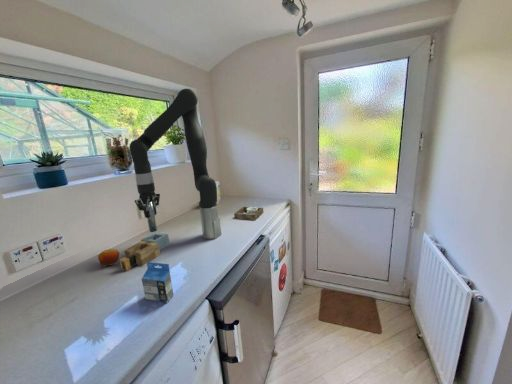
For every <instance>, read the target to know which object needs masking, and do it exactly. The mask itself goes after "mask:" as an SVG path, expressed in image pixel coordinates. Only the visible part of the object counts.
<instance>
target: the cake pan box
mask: <svg viewBox="0 0 512 384" xmlns="http://www.w3.org/2000/svg"><path fill="white" fill-rule="evenodd" d="M215 183H216V187H217V205H218V204H219V203H220V202H221V189H220V188H221V187H220V181H215Z"/></svg>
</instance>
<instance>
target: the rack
mask: <svg viewBox="0 0 512 384" xmlns="http://www.w3.org/2000/svg"><path fill="white" fill-rule="evenodd" d="M141 241H147V242H154V243H158V247H159V251H161V250H162V249H164V248H165V247H167V246H168V245H170V238H169V234H168V233H161V232H152V233H151V234H149V235H147V236H145V237H144V238H141V239H140V242H141Z"/></svg>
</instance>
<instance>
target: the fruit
mask: <svg viewBox="0 0 512 384" xmlns="http://www.w3.org/2000/svg"><path fill="white" fill-rule="evenodd" d="M119 256H120V252H119V250H118V249H115V248H112V249H111V248H110V249H104V250H103V251H101V252H100V253H98V255H97V258H98V259H97V260H98V262H99V264H100V265H101V266H102V267H103V268H105V267H107V266H115V264H116V263H117V262H118V259H119Z"/></svg>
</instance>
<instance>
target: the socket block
mask: <svg viewBox="0 0 512 384" xmlns="http://www.w3.org/2000/svg"><path fill="white" fill-rule="evenodd" d="M123 252H124V258H128V257H129V256H131V255H133V254H134V253H135V257H136V262H137V264H136V265H138V266H142V267H143V266H145V265H147V262H152V260H154V259H156V258H157V257H159V256H160V254H161V253H160V250H159V247H158V243H154V242H147V241H141V240H140V241H139V242H137V243H135V244H133V245H131V246H130V247H128V248H126V249H124V250H123Z"/></svg>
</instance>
